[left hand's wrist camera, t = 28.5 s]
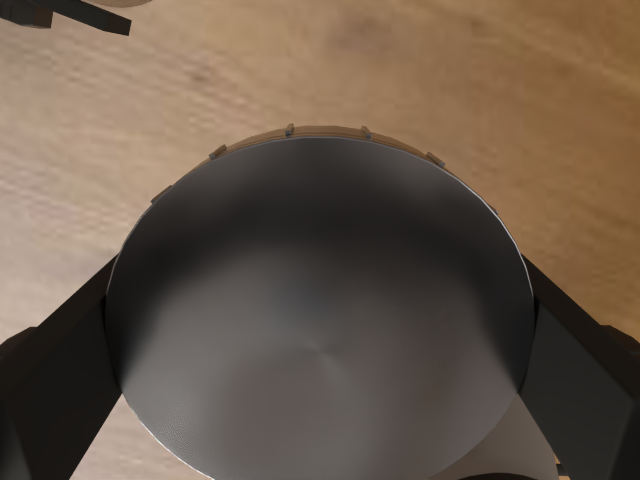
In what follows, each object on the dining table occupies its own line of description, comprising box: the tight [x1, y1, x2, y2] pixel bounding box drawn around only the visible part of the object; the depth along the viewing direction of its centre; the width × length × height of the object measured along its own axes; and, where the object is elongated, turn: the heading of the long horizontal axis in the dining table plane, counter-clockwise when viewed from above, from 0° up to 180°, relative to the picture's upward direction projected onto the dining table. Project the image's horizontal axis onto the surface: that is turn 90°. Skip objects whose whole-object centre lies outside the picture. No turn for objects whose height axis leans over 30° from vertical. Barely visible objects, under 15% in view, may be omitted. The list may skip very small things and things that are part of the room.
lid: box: [104, 123, 535, 480], centre depth 11 cm, size 10×10×2 cm
